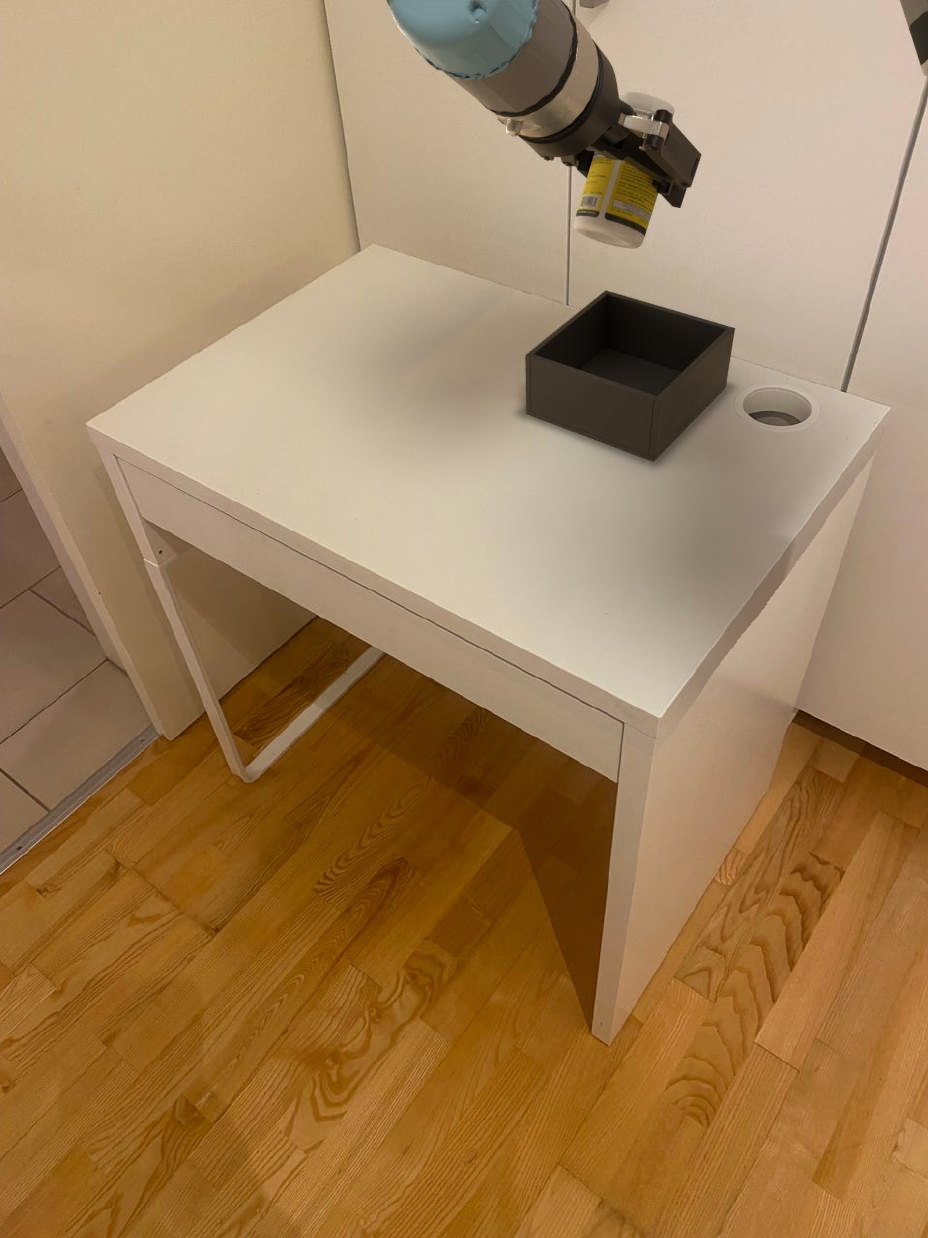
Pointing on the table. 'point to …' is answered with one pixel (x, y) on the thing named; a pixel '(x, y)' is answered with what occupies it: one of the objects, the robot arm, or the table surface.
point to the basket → (628, 373)
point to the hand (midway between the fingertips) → (645, 183)
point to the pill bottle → (619, 191)
